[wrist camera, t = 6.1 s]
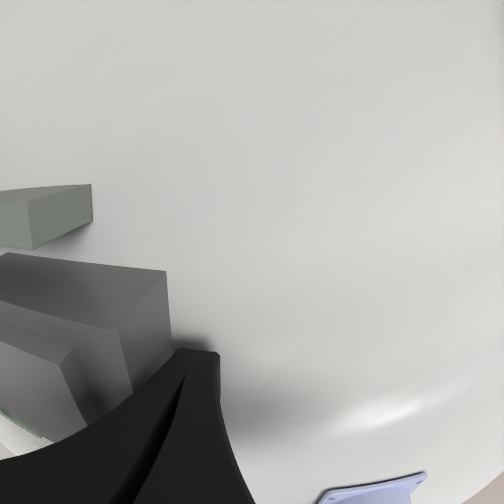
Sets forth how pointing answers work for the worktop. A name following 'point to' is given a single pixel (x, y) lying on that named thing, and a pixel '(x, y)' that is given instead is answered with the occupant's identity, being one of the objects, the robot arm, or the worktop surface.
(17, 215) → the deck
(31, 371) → the dark grey block
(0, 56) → the worktop surface
